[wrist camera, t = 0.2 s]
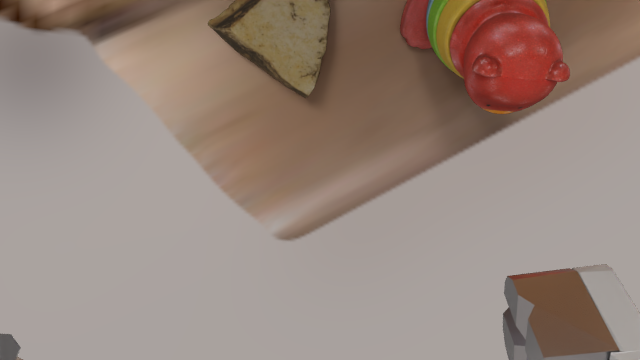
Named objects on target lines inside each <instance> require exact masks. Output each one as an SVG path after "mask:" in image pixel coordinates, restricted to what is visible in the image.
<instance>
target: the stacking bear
mask: <svg viewBox="0 0 640 360" xmlns="http://www.w3.org/2000/svg"><path fill="white" fill-rule="evenodd" d="M400 31H401V35H402V36H403V37H405V38H406V42H407V44H408V45H410V46H412V47H418V48H420V49H428V48H433V50H434V52H435V53H436V55H437V56H438V58H439V59H440V60H441V61H442V62H443V63H444V64H445V66H447V67H448V68H449V69H450V70H451V71H453V72H454V73H456V74H457V75H458V76H460V77H461V78H463V79H464V82H465V87H466V90H467V92H468V94H469V96H470V98H471V99H472V100H473V101H474V103H476V104H477V105H478V106H479V107H481V108H482V109H484V110H486V111H488V112H491V113H495V114H509V113H512V112H516V111H520V110H522V109H525V108H528V107H530V106H532V105H534V104H536V103H537V102H539V101H541V100H542V99H544V98H545V97H546V96H547V95H548V94H549V93H550V92H551V91H552V90H553V88H554V87H555V85H556V83H557V82H563V81H566V80H568V79H569V76H570V70H569V68H568V66H567V65H566V64H565V63H563V53H562V48H561V45H560V42H559V40H558V38H557V36H556V34H555V33H554V32H553V31H552V29H551V28H550V18H549V12H548V8H547V4H546V0H407V3H406V5H405V8H404V11H403V15H402V19H401V25H400Z"/></svg>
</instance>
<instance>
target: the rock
mask: <svg viewBox="0 0 640 360" xmlns="http://www.w3.org/2000/svg"><path fill="white" fill-rule="evenodd" d="M329 16H330V5H329V1H328V0H236V1H234V2H233V3H232V4H231V5H230V6H229V8H228V9H226V10H225V11H224V12H222V13H221V14H220V15H219V16H218V17H216V18H214V19H211V20H210V21H209V22H208V26H210V27H211V28H212V29H213V30H214V31H216V32H217V33H218V34H219V35H220V36H221V37H222V39H224V40H225V41H226V42H227V43H228V44H229V45H230V46H232V47H233V48H234V49H235V50H236V51H237V52H239V53H240V54H241V55H242V56H244V57H246V58H247V59H249V60H250V61H251V62H253V63H255V64H256V65H257V66H258V67H260V68H261V69H263V70H264V71H266V72H267V73H268V74H269V75H270V76H272V77H273V78H274V79H276V80H278V81H279V82H281V83H282V84H284V85H285V86H286V87H288V88H290V89H292V90H293V91H295V92H296V93H298V94H299V95H301V96H303V97H305V98H306V97H308V96H309V95H310V93H311V92H312V91H313V89H314V87H315V84H316V82H317V79H318V77H319V73H320V66H321V62H322V58H323V55H324V54H325V51H326V43H327V34H328V23H329Z"/></svg>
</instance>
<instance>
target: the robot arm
mask: <svg viewBox="0 0 640 360" xmlns="http://www.w3.org/2000/svg"><path fill="white" fill-rule="evenodd" d="M504 294H505V297H506V300H507V303H508V305H509V308H508V309H507V310H506V311H505V312H504V313H503V332H504V340H505V346H506V350H507V354H508V358H509V360H640V312H639V311H638V309H637V308H636V306H635V304H634V303H633V301H632V300H631V298H630V296H629V295H628V293H627V292H626V290H625V289H624V287H623V285H622V283H621V282H620V281H619V279H618V277H617V276H616V274H615V272H614V271H613V269H612V268H611V267H609V266H608V265H607V264H602V265H594V266H586V267H577V268H572V269H560V270H553V271H544V272H536V273H528V274H520V275H512V276H507V278H506V281H505V290H504ZM19 350H20V346H19V345H18V343H17V342H16V341H15V339H14V338H13V336H12V335H10V334H0V360H23V359H21V358H19V357H18V354H19Z"/></svg>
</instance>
